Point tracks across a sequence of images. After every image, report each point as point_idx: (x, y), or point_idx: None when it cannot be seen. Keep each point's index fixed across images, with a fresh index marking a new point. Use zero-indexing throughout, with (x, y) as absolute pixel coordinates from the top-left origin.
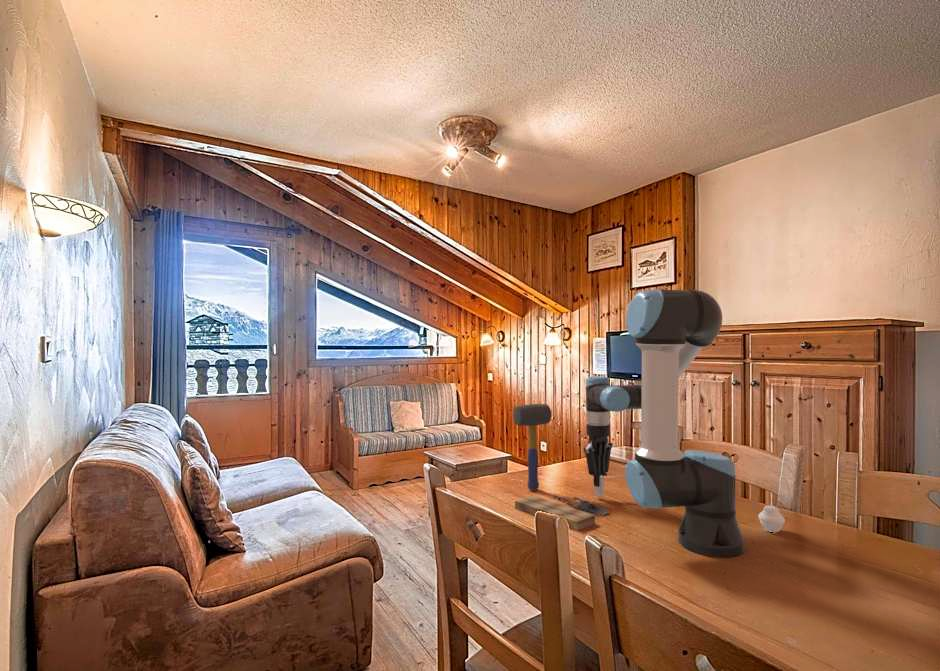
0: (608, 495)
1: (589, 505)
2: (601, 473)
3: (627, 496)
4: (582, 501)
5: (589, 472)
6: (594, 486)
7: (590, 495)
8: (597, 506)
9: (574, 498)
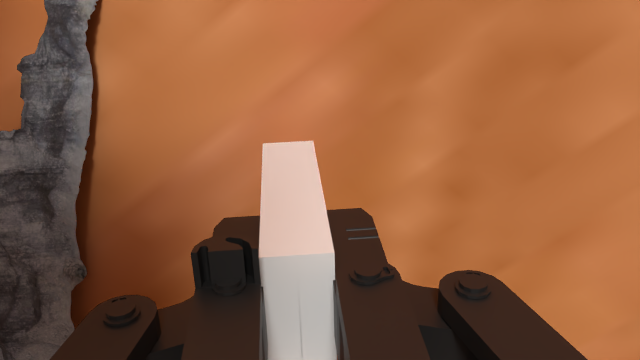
0: (452, 157)
1: (16, 273)
2: (337, 354)
3: (545, 274)
4: (54, 146)
5: (83, 338)
6: (261, 187)
7: (313, 40)
8: (54, 335)
9: (58, 12)
